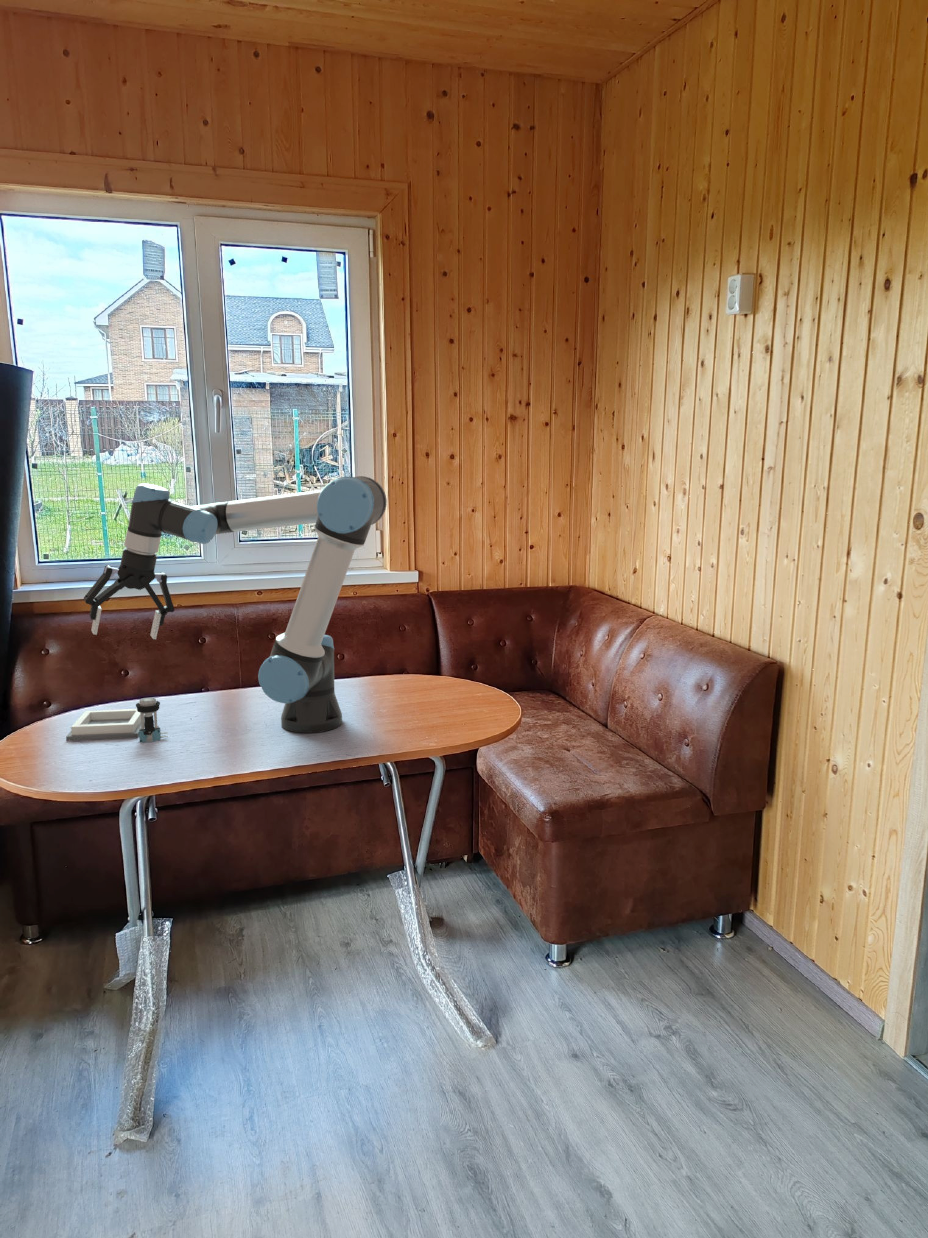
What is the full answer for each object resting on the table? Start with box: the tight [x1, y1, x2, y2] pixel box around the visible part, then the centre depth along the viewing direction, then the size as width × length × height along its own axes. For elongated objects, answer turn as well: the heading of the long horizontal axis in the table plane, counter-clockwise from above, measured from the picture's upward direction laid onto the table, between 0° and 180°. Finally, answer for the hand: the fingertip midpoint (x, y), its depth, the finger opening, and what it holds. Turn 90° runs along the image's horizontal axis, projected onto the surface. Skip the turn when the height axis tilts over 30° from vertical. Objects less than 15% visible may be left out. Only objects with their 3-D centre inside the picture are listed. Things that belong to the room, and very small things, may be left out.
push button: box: [135, 697, 169, 743], centre depth 199 cm, size 7×5×10 cm
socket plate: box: [65, 708, 145, 742], centre depth 207 cm, size 16×15×3 cm
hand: (124, 635), depth 202 cm, fingers open, 13 cm apart
